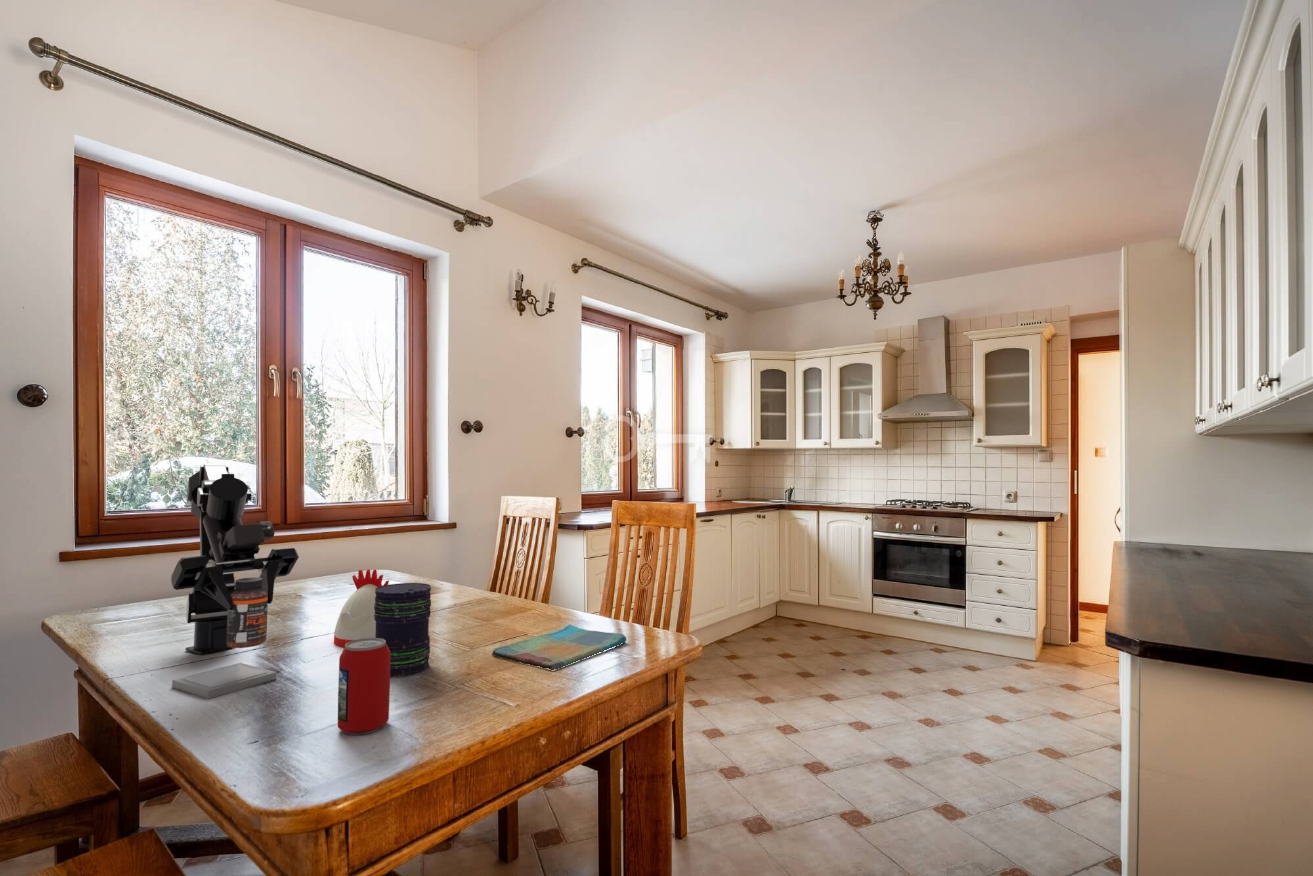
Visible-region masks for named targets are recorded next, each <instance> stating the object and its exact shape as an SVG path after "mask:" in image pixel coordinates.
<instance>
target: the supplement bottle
mask: <svg viewBox="0 0 1313 876" xmlns="http://www.w3.org/2000/svg"><path fill="white" fill-rule="evenodd" d="M235 588H236V589H235V590H234V592H233V593H231V594H230V596H231V599H232V603H233V608H232V610H228V617H227V646H229V647H232V648H233V649H245V648H252V647H253V648H254V647H257V646H260V645H262V644H264V643H265V642H266V640H267V636H268V634H267V633H268V606H269V604H268V593H267V591H265V590H264V589H263V588H262V578H259V577H244V578H238V579H236V580H235ZM232 648H231V649H232Z"/></svg>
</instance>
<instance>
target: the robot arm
mask: <svg viewBox="0 0 1313 876" xmlns="http://www.w3.org/2000/svg"><path fill="white" fill-rule="evenodd" d="M229 468H230V467H229V465H226V464H223V463H222V464H219V463H218V464H217V463H212V464H211V463H204V464H203V465H202V464H201V465H200V467H199V470H198V471H196V473H194V474H193V475H191V476H189V478H188V482H187V486H186V487H187V488H186V489H187V490H186V502H187V503H188V502H189V503H190V512H191V513H192V514H193V515H194V516H195V517H196V518H197V519H198V520H199V542H200V543H199V551H200V552H199V553H200V555H194V556H185V557H181V558H180V559H179V560H178V561H177V563H176V565H175V567H174V570H173V572H172V574H171V577H170V582H171V584H172V589H173V590H175V591H177V590H178V591H179V590H186V589H187V590H188V589H191V591H188V593H187V601H186V608H185V609H186V610H185V613H186V616H185V619H186V623H187V624H191V623H194V632H193V633H194V635H193V645H192V646H188V647H185V651H186V652H191V653H195V654H198V655H206V654H211V653H215V652H219V651H224V650H228V649H232V647H229V646H227V617H228V610H232V608H233V603H232V599H231V596H230V594H231V593H233V592H234V590H235V589H236V588H235V581H236V580H235V576H234V575H235V574H236V573H238V574H239V573H245V572H253V571H258V573H259V577H258V578H262V588H263V589H264V590H265V591H267V593H268V605H270V604H272V603H273V599H274V590H275V589H274V588H275V580H276V578H278V577H279V578H280V577H286V576H288V575H289V574H290V573H291V572H292V570H293V568H294V567H295V565H296V563H297V561H298V559H299V558H300V556H299V554H298V552H297V549H296V548H295V547H293V546H292V547H281V548H280V547H279V548H278V547H277V548H272V549H271V551H270V552H269V554H268V556H267V557H259V558H256V557H255V555H256V554H259V552H260V550H261V549H260V545H261V544H262V543H265V542H266V541H270V540H271V539H272V538H274V536H275V528H274V526H273V524H272V522H271V521H270V520H269V521H266V520H265V521H260V522H259V523H249V524H243V521H242V518H241V517H242V516H243V514H244V513H245V509H246V508H245V507H246V505H247V504H248V503H249V501H252V492H251V493H250V492H249V486H248V485H247V483H246V482H244V481H243V480H241V479H239V478H237V477H235V473H230V472H229Z"/></svg>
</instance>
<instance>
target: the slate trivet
mask: <svg viewBox="0 0 1313 876" xmlns="http://www.w3.org/2000/svg"><path fill="white" fill-rule="evenodd" d="M276 679H277V671H274V670H270V669H266V668H262V667H258V666H254V665H251V664H245V663H243V662H238V663H235V664H229V665H226V666H223V667H218V668H214V669H211V670H206V671H202V672H199V673H194V674H191V675H187V676H182V677H179V678H175V679H171V680H172V681H171V688H173V689H176V690H179V691H182V692H185V693H189V694H193V695H195V696H198V697H201V698H205V699H208V700H209V699H212V698H216V697H219V696H222V695H225V694H228V693H234V692H236V691H239V690H244V689H246V688H250V687H253V686H257V685H260V684H264V683H267V682H270V681H275V680H276Z"/></svg>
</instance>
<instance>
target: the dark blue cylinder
mask: <svg viewBox="0 0 1313 876" xmlns="http://www.w3.org/2000/svg"><path fill="white" fill-rule="evenodd" d="M383 585H384V584H383ZM383 585H382V586H380V587H377V588H376V589H375V594H376V597H375V603H374V610H375V615H374V620H375V621H376V632H375V638H381V639H384V640H385V641H386V645H387V646H388V648H389V650H390V679H395V678H396V679H397V678H405V677H411V676H416V675H419V674H422V673H424V672H426V671H427V670H429V668H430V663H429V660H430V653H431V645H430V644H431V643H430V642H431V639H430V636H429V633H430V632H429V631H430V630H429V629H430V628H429V626H430V624H429V623H430V617H431V612H432V611H431V607H432V599H431V598H432V596H431V595H432V594H431V590H432V585H430V584H429V583H422V582H421V583H420V582H400V583H392V584H391V583H390V584H388V585H384V586H383Z"/></svg>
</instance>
